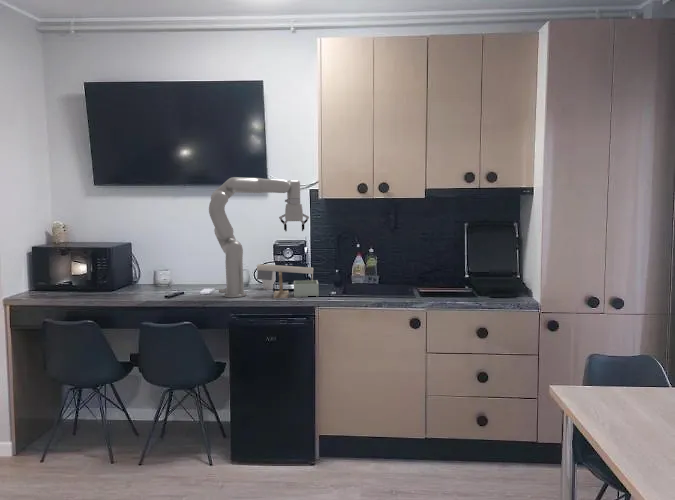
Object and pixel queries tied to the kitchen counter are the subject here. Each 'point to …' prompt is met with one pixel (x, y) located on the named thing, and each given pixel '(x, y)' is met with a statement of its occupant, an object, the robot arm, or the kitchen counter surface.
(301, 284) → the cup
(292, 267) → the tipping trough
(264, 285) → the foam cup
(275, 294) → the lever stand
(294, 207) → the robot arm
